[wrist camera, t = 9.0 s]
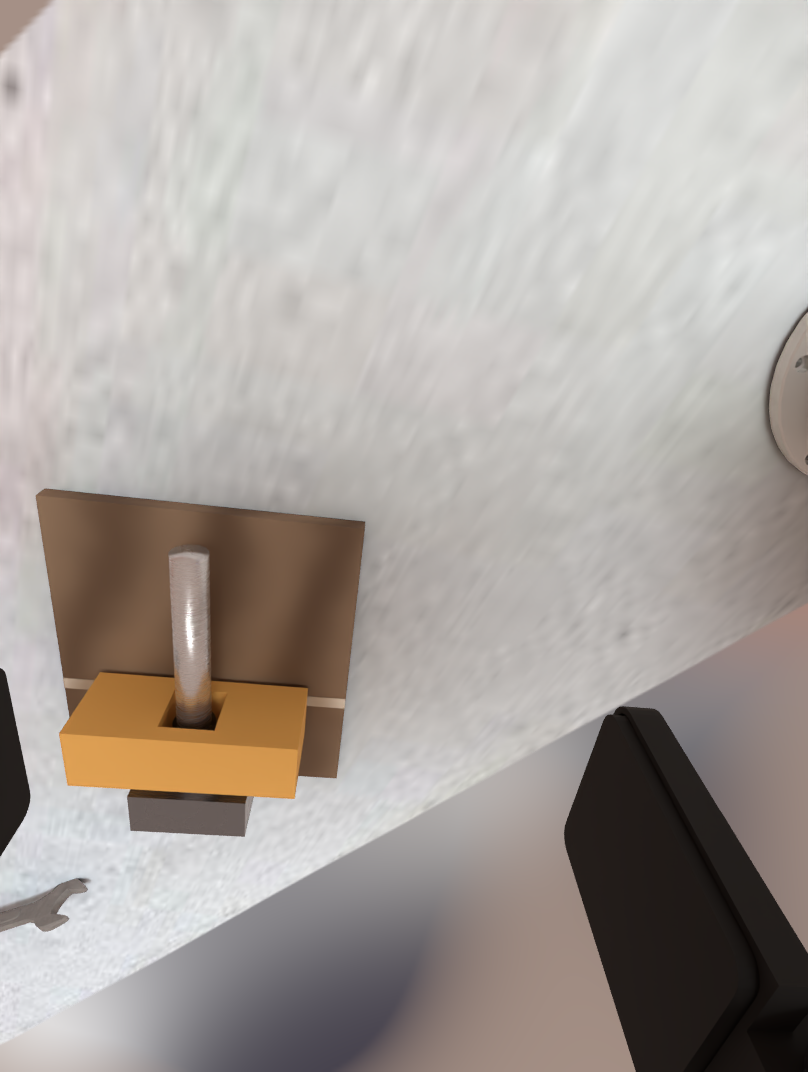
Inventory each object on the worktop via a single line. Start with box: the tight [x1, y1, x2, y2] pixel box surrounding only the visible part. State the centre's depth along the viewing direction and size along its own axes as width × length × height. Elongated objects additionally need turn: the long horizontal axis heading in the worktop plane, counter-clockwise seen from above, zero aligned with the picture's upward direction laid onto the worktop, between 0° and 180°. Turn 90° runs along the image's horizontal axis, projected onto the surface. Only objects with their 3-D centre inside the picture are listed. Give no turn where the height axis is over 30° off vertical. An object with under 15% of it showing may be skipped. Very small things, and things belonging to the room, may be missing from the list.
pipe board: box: [36, 489, 365, 778], centre depth 37 cm, size 18×20×1 cm
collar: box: [59, 672, 308, 799], centre depth 36 cm, size 13×4×5 cm, turn 83°
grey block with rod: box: [127, 544, 254, 837], centre depth 35 cm, size 7×19×5 cm, turn 173°
